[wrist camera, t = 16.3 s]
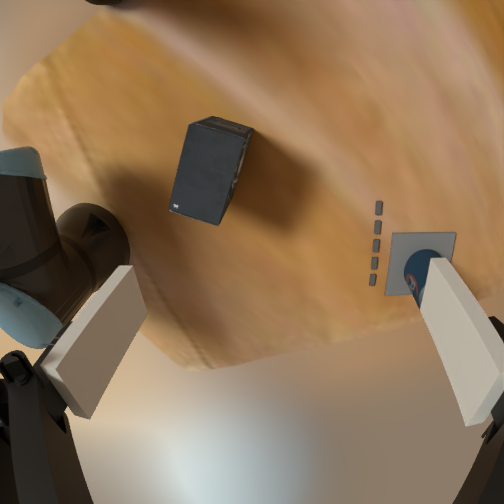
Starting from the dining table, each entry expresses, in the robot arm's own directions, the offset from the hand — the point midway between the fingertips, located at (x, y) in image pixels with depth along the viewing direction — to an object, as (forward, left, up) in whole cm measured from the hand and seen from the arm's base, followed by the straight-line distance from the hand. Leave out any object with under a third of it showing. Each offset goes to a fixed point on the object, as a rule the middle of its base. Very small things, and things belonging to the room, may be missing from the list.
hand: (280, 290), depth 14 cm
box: (-9, 0, -32) cm, 33 cm away
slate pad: (+21, -18, -32) cm, 42 cm away
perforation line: (+13, -14, -32) cm, 37 cm away
